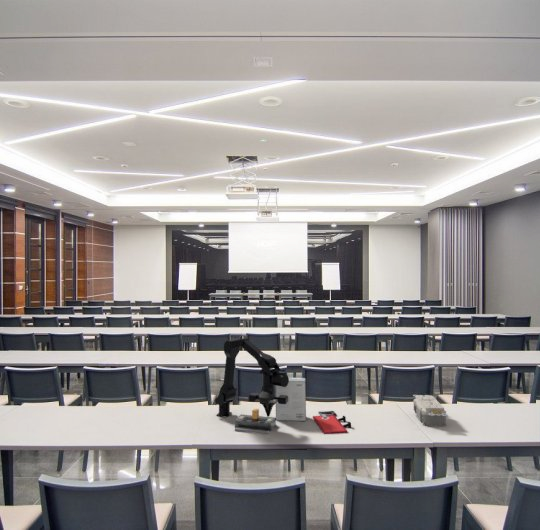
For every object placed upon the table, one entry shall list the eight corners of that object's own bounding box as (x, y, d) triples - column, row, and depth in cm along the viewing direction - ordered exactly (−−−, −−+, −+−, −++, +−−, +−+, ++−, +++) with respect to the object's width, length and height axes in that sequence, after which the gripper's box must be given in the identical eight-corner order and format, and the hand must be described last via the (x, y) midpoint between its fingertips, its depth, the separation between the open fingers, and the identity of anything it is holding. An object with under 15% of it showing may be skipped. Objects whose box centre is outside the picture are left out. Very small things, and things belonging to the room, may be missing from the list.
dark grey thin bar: (235, 428, 199) (235, 426, 199) (269, 432, 195) (269, 430, 195) (233, 430, 197) (233, 428, 197) (267, 434, 192) (267, 432, 192)
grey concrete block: (431, 410, 226) (431, 392, 226) (451, 433, 198) (451, 412, 197) (409, 409, 227) (409, 391, 226) (426, 432, 198) (426, 411, 198)
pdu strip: (241, 421, 210) (241, 414, 210) (275, 424, 205) (275, 417, 205) (234, 427, 201) (234, 419, 201) (270, 431, 196) (270, 423, 196)
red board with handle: (336, 412, 225) (309, 414, 223) (336, 407, 225) (309, 408, 223) (355, 433, 195) (324, 435, 193) (355, 427, 195) (323, 429, 193)
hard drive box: (306, 416, 218) (306, 377, 218) (306, 421, 210) (305, 381, 211) (276, 415, 219) (276, 377, 220) (275, 420, 211) (275, 380, 212)
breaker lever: (254, 416, 205) (254, 408, 205) (258, 417, 204) (258, 409, 204) (252, 418, 202) (252, 410, 202) (256, 419, 201) (257, 410, 201)
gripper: (244, 386, 197) (244, 420, 196) (283, 389, 192) (283, 423, 191) (251, 380, 207) (251, 412, 207) (288, 383, 202) (288, 416, 202)
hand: (268, 416), depth 201 cm, fingers closed
